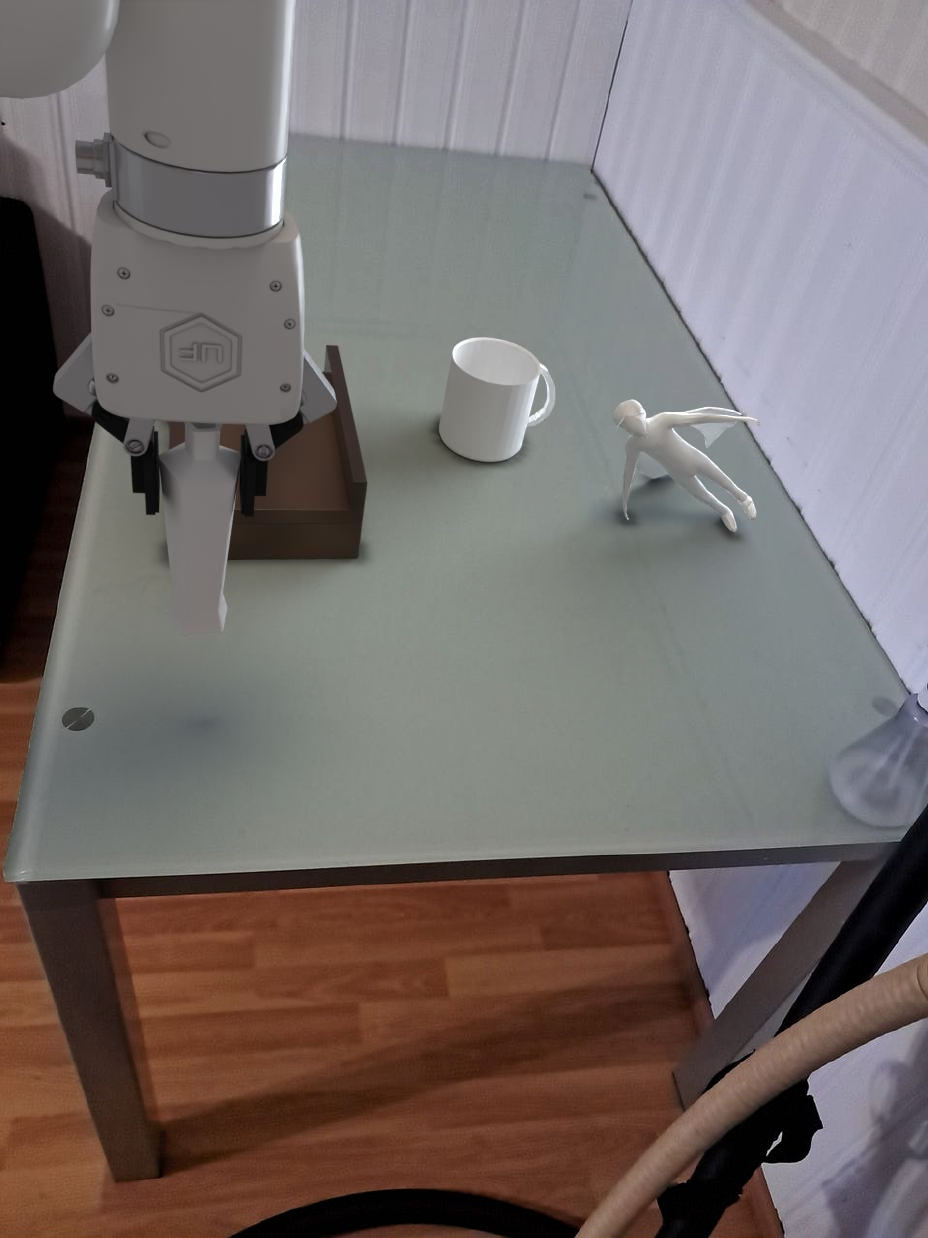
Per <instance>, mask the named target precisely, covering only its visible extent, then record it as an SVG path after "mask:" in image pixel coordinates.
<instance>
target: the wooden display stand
mask: <svg viewBox="0 0 928 1238" xmlns="http://www.w3.org/2000/svg"><path fill="white" fill-rule="evenodd" d="M324 353H325V356H324V366H323V367H324V369H323V371H321V372H322V373H323V375H324V376H325V378H326V379H327V380H328V382H329V383H330V385H331V386H332V387H333V389H334V391H335V396H336V401H337V407H336V409H335V410H333V411H332V412H330V413H328V414H327V415H325V416H323V417H321V418H319V419H318V420H316V421H314V422H312V423H307V424H306V425H304V426H303V428H302V430H301V431H300V432H298V433H297V434H296V435H294V436H293V437H292V438H290V439H289V440H288V441H286V442H285V443H283V444H282V445H281V446H279V447H278V448H277V449H275V455H274V456H273V458H272V459H270V460H268V471H267V488H266V496H255V501H254V517H245V516H244V515H241V507H240V491H239V476H238V484H237V491H236V499H235V506H234V513H233V521H232V528H231V536H230V543H229V551H228V558H227V560H248V559H249V560H255V559H256V560H265V559H266V560H267V559H268V560H269V559H273V560H274V559H276V560H277V559H278V560H279V559H283V560H284V559H358V558H359V556H360V555H359V554H360V547H361V537H362V532H363V531H362V530H363V522H364V514H365V507H366V498H367V490H368V478H367V473H366V472H367V471H366V469H365V463H364V459H363V454H362V450H361V445H360V442H359V436H358V431H357V427H356V422H355V418H354V412H353V408H352V404H351V399H350V395H349V389H348V385H347V381H346V376H345V372H344V367H343V362H342V361H343V360H342V357H341V352H340V348H339V345H337V344H334V345H333V344H326V345H325V352H324ZM284 389H285V387H284ZM301 393H302V392H301ZM168 422H169V424H168V427H169V429H168V432H169V433H168V450H170V449H172V448H174V447H176V446H178V445H180V444H182V443H184V442H185V423H184V422H175V421H168ZM244 430H246V425H242V424H222V426H221V429H220V443H219V445H220V446H223V447H226V448H229V449H232V450H235V451H238V452H240V445H241V435H244ZM239 474H240V469H239Z"/></svg>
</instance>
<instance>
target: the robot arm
mask: <svg viewBox="0 0 928 1238" xmlns="http://www.w3.org/2000/svg"><path fill="white" fill-rule="evenodd" d="M296 11H297V0H0V98H9V99H20V100H25V99H33V98H35V99H36V98H43V97H48V96H50V95H54V94H56V93H59V92H60V93H61V92H62V91H65V90H67V89H68V88H70V87H71V86H73V85H75V84H77V83H78V82H80V81H82V80H83V79H84V78H86V76H87V75H88V74H89V73H90V72H91V71H93V69H94V68H95V67H96V66H97V65H98V64H99V63H100V62H101V60H102V58H103V57H104V60H105V78H106V93H107V107H108V108H107V109H108V110H107V111H108V123H109V124H108V126H109V132H105V131H104V132H103V137H102V139H100V138H93V141H87V140H78V139H76V140H75V144H74V148H75V151H74V152H75V165H76V166H75V168H76V172H77V174H82V175H90V176H94V177H95V179H97V180H104V183H105V188H109V190H107V191H106V192H105V193H103V195H102V196H101V198H100V200H99V201H100V202H99V203H98V205H97V206H96V211H95V217H94V223H93V230H92V231H93V232H92V238H91V239H92V240H91V253H90V326H91V327H90V328H91V329H90V330H91V331H90V332H89V333H88V335H86V337H85V338H84V339H83V340H82V342H81V343H80V344H79V345H78V347H77V348H76V349H75V350H74V351H73V353H71V355H70V356H69V357H68V359H67V360H66V361H65V362H64V363H63V364H62V366H61V367H60V368H59V369H58V370H57V372H56V373H55V376H54V380H53V386H52V392H53V393H54V395H55V396H56V397H57V398H59V399H61V400H62V401H64V402H65V403H67V404H68V405H70V406H72V407H73V408H75V409H77V410H78V411H80V412H82V414H83V413H84V414H85V413H86V414H87V415H88V416H91V419H92V421H94V423H96V424H97V425H98V426H99V427H101V428H102V429H103V430H104V431H106V432H107V433H108V434H110V435H111V436H113V437H114V438H115V439H116V440H117V441H118V442H120V443H121V444H122V448H123V451H124V452H125V453H126V454H128V455H129V457H130V458H129V459H130V474H131V490H132V494H144V501H145V515H146V516H156V514H159V513H160V502H161V500H160V499H161V497H160V496H161V477H160V467H159V455H160V443H159V441H160V439H159V430H155V422H156V421H157V422H169V421H175V422H196V423H218V424H242V425H246V430H244V435H241V445H240V453H241V462H240V474H239V491H240V507H241V515H244V516H245V517H254V501H255V496H266V488H267V471H268V460H270V459H272V458H273V456H274V455H275V449H277V448H278V447H279V446H281V445H282V444H283V443H285V442H286V441H288V440H289V439H290V438H292V437H293V436H294V435H296V434H297V433H298V432H300V431H301V430H302V428H303V426H304V425H306V424H307V423H312V422H314V421H316V420H318V419H319V418H321V417H323V416H325V415H327V414H328V413H330V412H332V411H333V410H335V409H336V407H337V401H336V396H335V391H334V389H333V387H332V386H331V385H330V383H329V382H328V380H327V379H326V378H325V376H324V375H323V373H322V372H323V371H322V370H321V369H320V368H319V366H318V365H317V363H316V362H315V361H314V358H312V356H311V355H310V353H309V352H308V351H307V350H306V348H305V326H306V325H305V323H306V322H305V315H306V314H305V311H306V310H305V309H306V307H305V306H306V305H305V304H306V301H305V299H306V297H305V296H306V295H305V270H304V269H305V268H304V258H303V257H304V256H303V248H302V239H301V235H300V229H299V226H298V224H297V222H296V219H295V217H294V215H293V214H292V213H291V212H290V210H288V209H287V208H286V207H285V198H286V197H285V196H286V181H287V164H288V148H289V147H288V146H289V129H290V112H291V97H292V81H293V80H292V78H293V64H294V63H293V62H294V61H293V60H294V43H295V30H296V29H295V28H296V27H295V26H296ZM110 188H111V189H110ZM284 387H285V389H284ZM301 392H302V393H301Z"/></svg>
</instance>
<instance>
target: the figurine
mask: <svg viewBox="0 0 928 1238" xmlns="http://www.w3.org/2000/svg"><path fill="white" fill-rule="evenodd" d="M612 419H613V420H612V421H613V422H614V424H615V425H616V429H615V430H614V432H613V433H612V435H611V437H610V438H609V439H608V441H610V440H611V439H612V438H613V436H614V434H615V433H616V432H617V430H618V428H621V429H623V430H625V431H626V432H627V433H629V434H630V435H629V436H628V438H627V439H626V441H625V445H624V454H625V463H624V469H623V475H622V510H623V516H624V518H625V519H626V520H627V521H630V519H629V515H628V514H627V511H628V510H627V506H628V499H629V496H630V494H631V489H632V486H633V482H634V479H635V472H636V470H638V471H639V472H640V473H641V474H643V475H644V476H645V477H647V478H649V479H652V480H656V479H659V478H662V477H664V476H667V475H669V477H670V478H671V479H672V480H673V481H674V482H675V483H677V484H678V485H679V486H680V487H682V488H683V489H685V490H686V491H687V492H688V493H689V494H691V496H693V497H694V498H695V499H696V500H698V501H700V502H701V503H702V504H703V503H704V504H705V505H707V506H709V507H710V508H711V509H712V510H714V511H715V512H716V513H717V514H718V516H719V517H720V518H721V519H722V522H723V524H724V525H725V527H726V528H727V529H728V530H729V531H730V532H732V533H735V532H737V530H738V529H737V522H736V518H735V517H734V513H733V511H732V510H731V508H729V507H728V506H726V505H725V504H724V503H723V502H721V501H720V500H718V498H717V497H716V496H715V495H713V493H711V492H710V491H709V490H707V488H706V487H705V486H704V484H703V483H702V482H701V481H700V479H699V478H698V477H697V475H699V476H701V477H702V478H705V479H706V480H708V481H710V482H711V483H713V484H715V485H716V486H717V487H719V488H720V489H722V490H723V491H725V492H727V493H728V494H729V495H730V496H732V497H733V498H734V499H735V500H736V502H738V503H739V506H740V507H741V508H742V510H743V512H744V513H745V514H746V515H747V517H748V519H750V520H755V519H756V517H757V509H756V507H755V504H754V501H753V498H752V497H751V496H750V495H748V494H747V492H744V491H743V490H742V489H741V488H739V487H738V486H737V485H736V484H735V483H734V482H733V481H732V480H731V478H730V477H728V475H726V474H725V473H724V472H723V471H722V470H721V469H720V468H719V467H718V466H717V464H715V462H714V461H712V460H711V459H710V458H709V457H708V456H707V455H706V454H705V453H703V452H702V451H700V450H699V449H698V448H696V447H695V446H693V445H692V444H690V443H689V442H687V441H686V440H685V439H684V438H682V437H681V435H679V434H678V433H677V432H676V430H675V428H676V429H677V428H683V427H689V426H690V427H693V428H694V429H696V430H698V431H699V432H700V433H701V434H702V435H704V444H705V448H706V449H707V448H708V447H710V446H711V445H712V444H713V443H714V442H715V441H717V439H718V438H719V437H721V435H722V434H723V433H724V432H725V431H726V430H728V429H729V428H731V427H733V426H737V424H738V423H739V422H743V423H751V424H755V425H757V426H760V427H761V424H760V420H758V419H757V418H755V417H750V416H742V412H738V411H737V410H733V409H728V408H723V407H714V406H713V407H712V406H706V407H705V406H704V407H701V408H696V409H691V410H687V411H681V412H678V411H677V412H670V411H665V412H659V413H657V414H655V415H653V416H651V417H647V411H646V410H645V409H644V408H643V406H642V405H641V403H640V402H639V401H637V400H636V399H629V400H625V401H622V402H620V403H619V404H618V406H617V407H616V408H615V411H613V414H612Z"/></svg>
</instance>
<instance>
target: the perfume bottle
mask: <svg viewBox="0 0 928 1238" xmlns="http://www.w3.org/2000/svg"><path fill="white" fill-rule="evenodd" d="M184 423H185V442H184V443H182V444H180V445H178V446H176V447H174V448H172V449H170V450H169V449H168V450H166V451H164V452H162V453H159V468H160V488H161V496H162V505H163V515H164V525H165V535H166V545H167V555H168V565H169V573H170V583H171V595H172V597H171V599H170V602H169V604H168V606H167V609H166V615H167V617H168V618H169V619H170V620H171V621H170V622H172V624H173V625H174V626H175V628H176V629H177V631H178V632H179V633H180V635H182V636H183V637H191V636H202V635H211V634H219V633H222V632H223V631H224V627H225V622H226V617H227V613H228V604H227V601H226V598H225V595H224V588H225V579H226V573H227V566H228V565H227V564H228V559H227V558H228V551H229V543H230V536H231V528H232V521H233V513H234V506H235V499H236V491H237V484H238V476H239V469H240V462H241V453H240V452H238V451H235V450H232V449H229V448H226V447H223V446H220V445H219V443H220V429H221V426H222V424H218V423H196V422H184Z"/></svg>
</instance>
